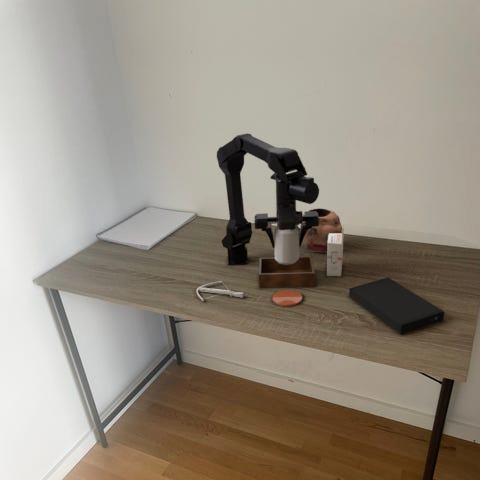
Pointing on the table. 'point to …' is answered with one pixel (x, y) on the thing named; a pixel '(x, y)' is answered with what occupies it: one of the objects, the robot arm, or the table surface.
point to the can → (287, 245)
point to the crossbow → (217, 291)
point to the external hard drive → (396, 305)
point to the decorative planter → (322, 230)
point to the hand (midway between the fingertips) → (286, 246)
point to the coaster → (287, 298)
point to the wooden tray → (286, 273)
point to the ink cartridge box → (335, 253)
